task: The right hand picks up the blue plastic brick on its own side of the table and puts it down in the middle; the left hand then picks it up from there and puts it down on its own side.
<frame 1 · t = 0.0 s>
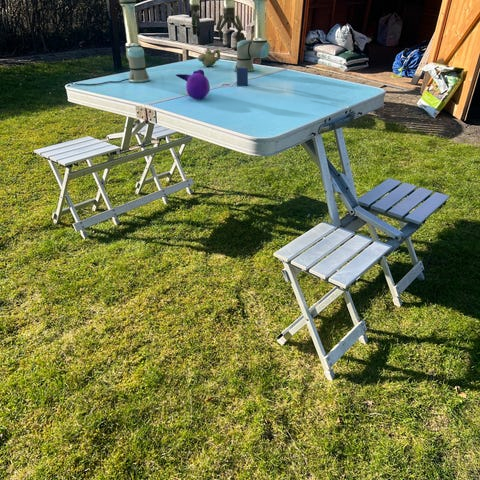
left hand: (196, 35, 349), 28 cm above the table, tool pointing down, fingers open, 13 cm apart
right hand: (229, 41, 312), 28 cm above the table, tool pointing down, fingers open, 13 cm apart
brick: (242, 85, 320), on the table
toy: (195, 97, 290), on the table
teapot: (209, 66, 390), on the table
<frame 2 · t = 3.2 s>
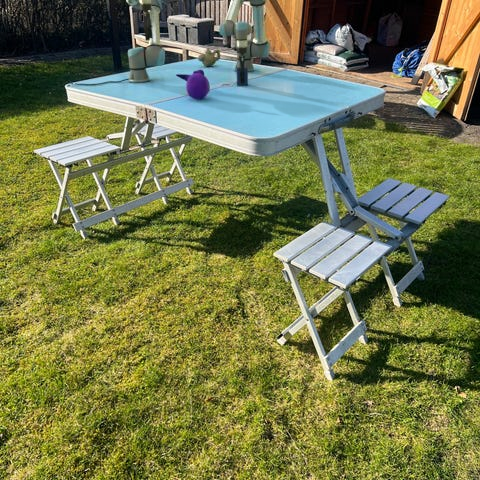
left hand: (149, 39, 302), 32 cm above the table, tool pointing down, fingers open, 13 cm apart
right hand: (242, 82, 319), 2 cm above the table, tool pointing down, fingers closed on brick, 5 cm apart
brick: (242, 85, 320), on the table, touching right hand
everything else where it was.
when the right hand's fingers open (3 cm above the table, at t = 7.9 s): brick drops 1 cm, on the table.
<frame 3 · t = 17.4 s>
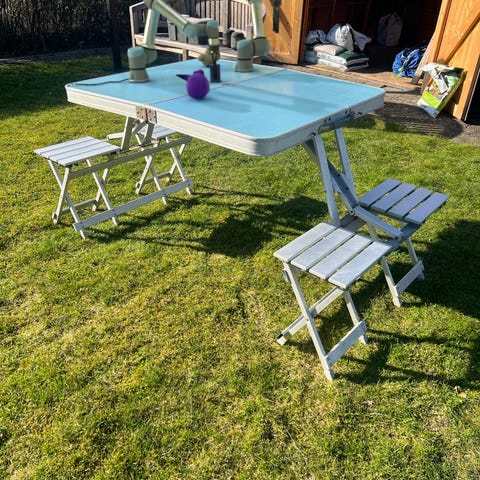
left hand: (215, 78, 331), 2 cm above the table, tool pointing down, fingers closed on brick, 5 cm apart
right hand: (275, 32, 329), 31 cm above the table, tool pointing down, fingers open, 13 cm apart
brick: (215, 81, 332), on the table, touching left hand
everything else where it was.
when the left hand's fingers open (3 cm above the table, at t = 23.8 s): brick drops 1 cm, on the table.
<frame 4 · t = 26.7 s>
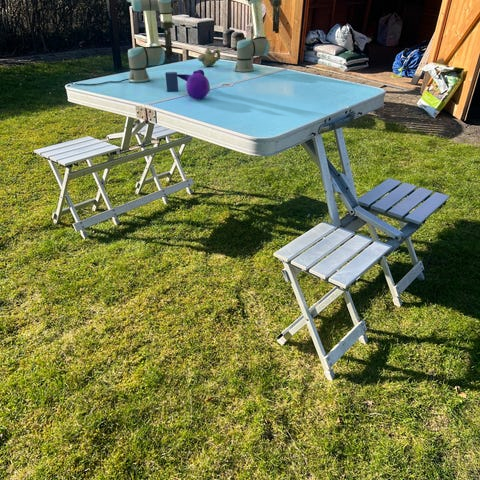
left hand: (169, 57, 297), 22 cm above the table, tool pointing down, fingers open, 13 cm apart
right hand: (275, 32, 329), 31 cm above the table, tool pointing down, fingers open, 13 cm apart
brick: (172, 90, 308), on the table
everything else where it was.
at the end: brick inside the target area (0.0 cm from its centre), on the table; brick tilted 0°; the two hands never held the brick at the same time; the left hand is holding nothing; the right hand is holding nothing; brick at rest at the end (0.0 cm/s) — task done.
